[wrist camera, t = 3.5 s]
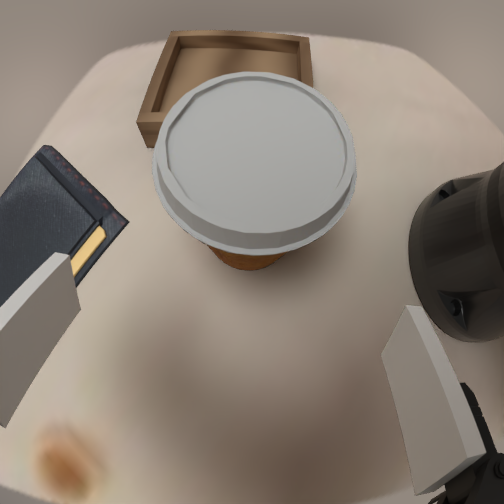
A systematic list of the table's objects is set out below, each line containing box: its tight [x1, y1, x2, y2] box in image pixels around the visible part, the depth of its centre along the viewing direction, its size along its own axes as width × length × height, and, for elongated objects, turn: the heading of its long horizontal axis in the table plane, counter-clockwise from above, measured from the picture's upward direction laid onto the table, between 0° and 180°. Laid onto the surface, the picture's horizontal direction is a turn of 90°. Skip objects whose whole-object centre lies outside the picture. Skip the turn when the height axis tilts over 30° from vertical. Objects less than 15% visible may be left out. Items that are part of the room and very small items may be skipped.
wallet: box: [0, 145, 129, 307], centre depth 23 cm, size 20×2×15 cm
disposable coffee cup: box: [152, 72, 357, 270], centre depth 18 cm, size 10×10×12 cm
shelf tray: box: [136, 30, 313, 148], centre depth 26 cm, size 14×13×4 cm
